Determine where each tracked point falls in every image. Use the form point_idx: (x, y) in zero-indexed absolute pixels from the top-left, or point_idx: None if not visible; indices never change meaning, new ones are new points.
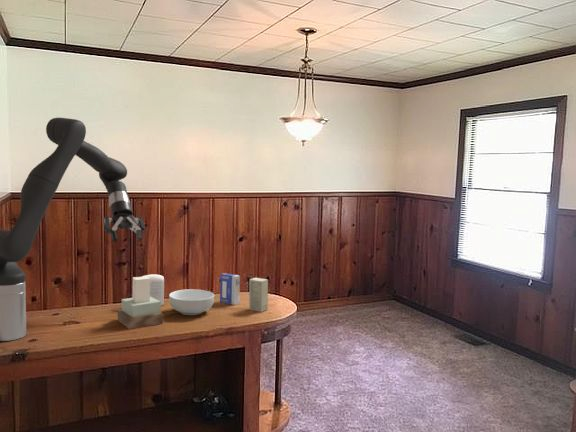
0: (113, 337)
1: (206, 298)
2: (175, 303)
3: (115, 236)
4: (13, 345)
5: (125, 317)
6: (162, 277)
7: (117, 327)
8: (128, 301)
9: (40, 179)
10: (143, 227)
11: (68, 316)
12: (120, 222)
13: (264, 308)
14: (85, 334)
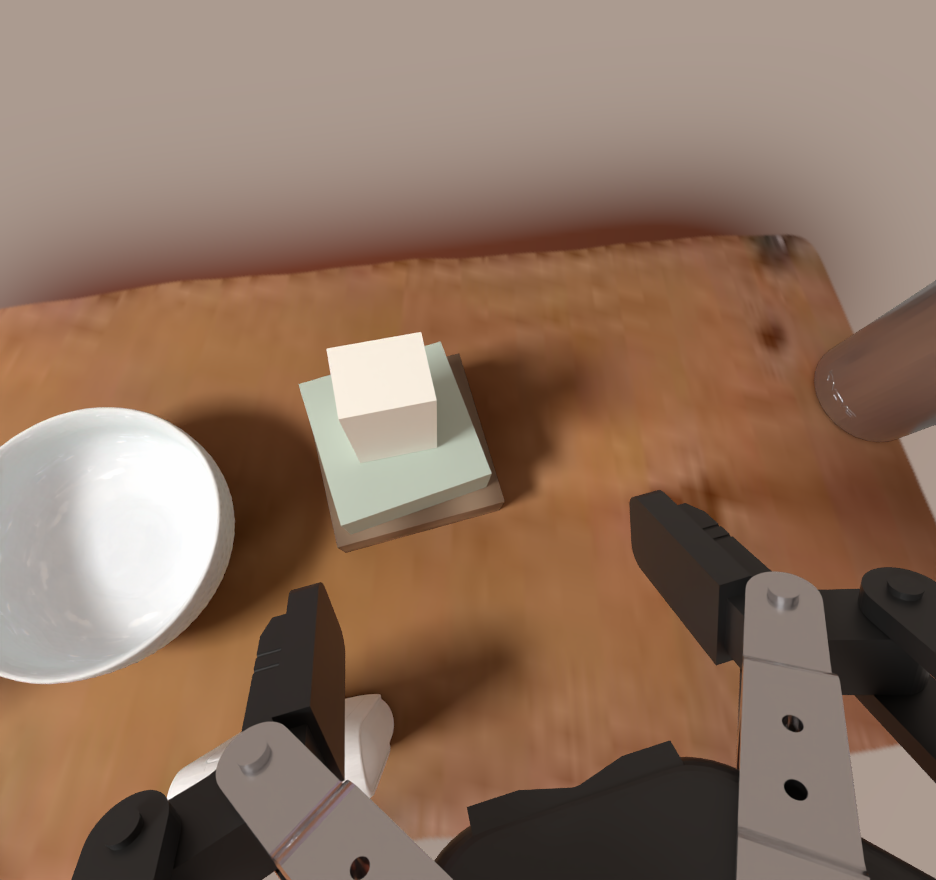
0: (511, 297)
1: None
2: (214, 462)
3: (675, 508)
4: (816, 304)
5: (469, 391)
6: (179, 786)
7: (498, 401)
8: (458, 421)
9: None
10: (135, 820)
11: None
12: (737, 818)
13: None
14: (610, 350)
